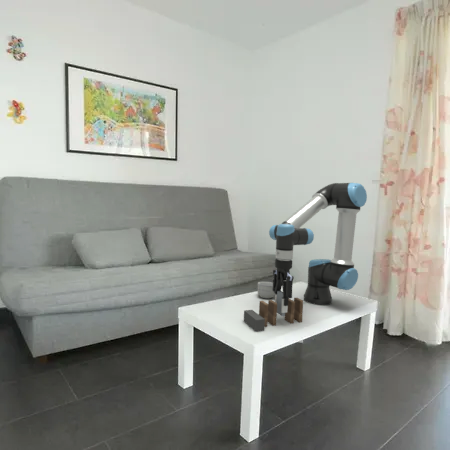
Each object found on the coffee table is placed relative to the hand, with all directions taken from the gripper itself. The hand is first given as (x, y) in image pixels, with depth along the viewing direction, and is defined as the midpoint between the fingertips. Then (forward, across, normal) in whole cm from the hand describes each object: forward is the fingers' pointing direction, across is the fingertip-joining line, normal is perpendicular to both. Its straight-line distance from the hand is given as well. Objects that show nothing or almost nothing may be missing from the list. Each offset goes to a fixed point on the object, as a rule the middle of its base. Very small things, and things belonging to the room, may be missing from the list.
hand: (280, 310), depth 150 cm
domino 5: (+6, 0, +9) cm, 11 cm away
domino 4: (+6, 0, +5) cm, 7 cm away
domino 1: (+6, 0, -9) cm, 11 cm away
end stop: (+6, 0, -13) cm, 15 cm away
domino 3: (+2, 0, 0) cm, 2 cm away
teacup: (+6, -34, +13) cm, 37 cm away
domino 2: (+6, 0, -4) cm, 7 cm away
